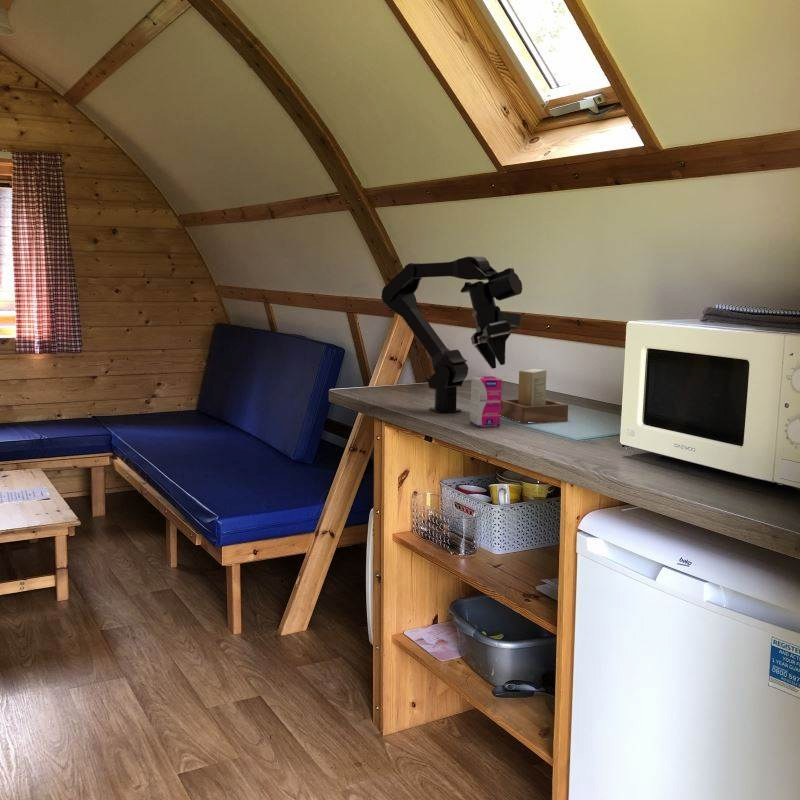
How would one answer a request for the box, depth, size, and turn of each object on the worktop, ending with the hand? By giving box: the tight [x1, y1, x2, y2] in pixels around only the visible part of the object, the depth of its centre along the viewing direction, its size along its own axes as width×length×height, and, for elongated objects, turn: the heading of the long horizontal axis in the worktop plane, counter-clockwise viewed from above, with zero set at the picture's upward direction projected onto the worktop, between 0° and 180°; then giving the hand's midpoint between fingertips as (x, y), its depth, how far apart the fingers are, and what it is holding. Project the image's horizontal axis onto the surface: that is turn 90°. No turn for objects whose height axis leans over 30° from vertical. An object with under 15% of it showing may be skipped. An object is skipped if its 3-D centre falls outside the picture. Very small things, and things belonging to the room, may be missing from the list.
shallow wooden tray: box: [500, 398, 569, 424], centre depth 222 cm, size 12×12×4 cm
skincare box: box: [517, 368, 547, 406], centre depth 221 cm, size 6×4×12 cm
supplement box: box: [469, 375, 503, 428], centre depth 211 cm, size 6×6×12 cm
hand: (498, 366), depth 220 cm, fingers open, 9 cm apart
